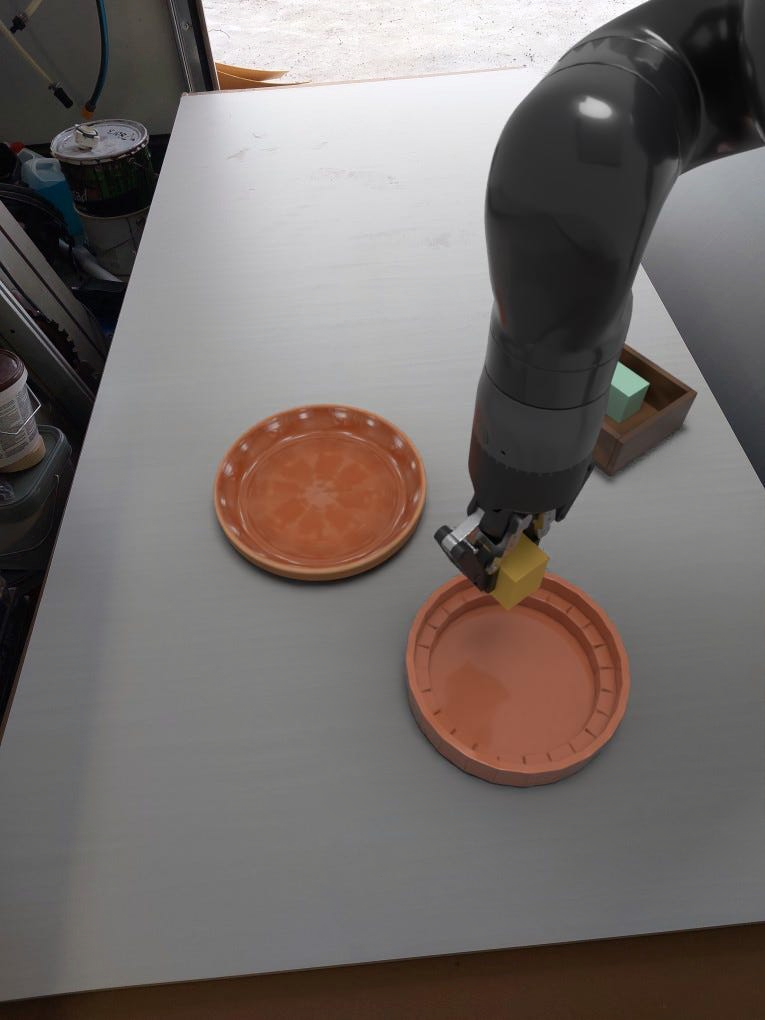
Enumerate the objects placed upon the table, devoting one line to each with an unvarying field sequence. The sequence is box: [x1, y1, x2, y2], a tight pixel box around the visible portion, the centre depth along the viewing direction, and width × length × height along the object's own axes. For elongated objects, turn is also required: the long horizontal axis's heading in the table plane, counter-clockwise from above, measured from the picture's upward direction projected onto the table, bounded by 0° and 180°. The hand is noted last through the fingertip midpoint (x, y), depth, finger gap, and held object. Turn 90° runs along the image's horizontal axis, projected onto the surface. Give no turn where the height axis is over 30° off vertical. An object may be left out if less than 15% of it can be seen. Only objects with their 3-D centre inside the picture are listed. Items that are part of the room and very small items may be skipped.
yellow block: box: [484, 533, 550, 611], centre depth 54 cm, size 6×4×4 cm, turn 38°
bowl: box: [404, 571, 631, 788], centre depth 62 cm, size 19×19×4 cm
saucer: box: [212, 403, 428, 582], centre depth 75 cm, size 23×23×4 cm
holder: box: [591, 342, 699, 477], centre depth 82 cm, size 15×13×6 cm
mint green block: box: [606, 362, 650, 424], centre depth 82 cm, size 6×4×4 cm, turn 37°
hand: (502, 569), depth 56 cm, fingers closed on yellow block, 3 cm apart
